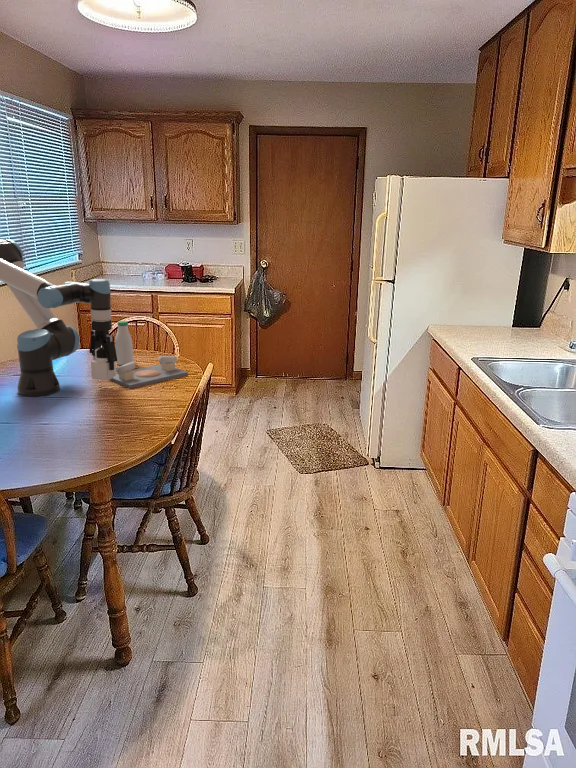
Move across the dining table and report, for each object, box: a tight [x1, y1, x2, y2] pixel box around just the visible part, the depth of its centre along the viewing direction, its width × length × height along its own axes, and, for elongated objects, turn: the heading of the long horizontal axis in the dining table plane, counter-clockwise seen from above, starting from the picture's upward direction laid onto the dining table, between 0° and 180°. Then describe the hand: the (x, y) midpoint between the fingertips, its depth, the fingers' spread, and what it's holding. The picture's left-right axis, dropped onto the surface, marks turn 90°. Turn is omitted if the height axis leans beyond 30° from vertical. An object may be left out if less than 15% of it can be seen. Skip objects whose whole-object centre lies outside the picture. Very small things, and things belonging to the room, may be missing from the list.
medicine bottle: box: [90, 346, 117, 381], centre depth 222 cm, size 7×7×12 cm
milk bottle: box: [114, 320, 134, 366], centre depth 256 cm, size 8×8×20 cm
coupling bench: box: [109, 355, 189, 390], centre depth 239 cm, size 29×18×8 cm, turn 137°
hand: (104, 374), depth 223 cm, fingers closed on medicine bottle, 10 cm apart
